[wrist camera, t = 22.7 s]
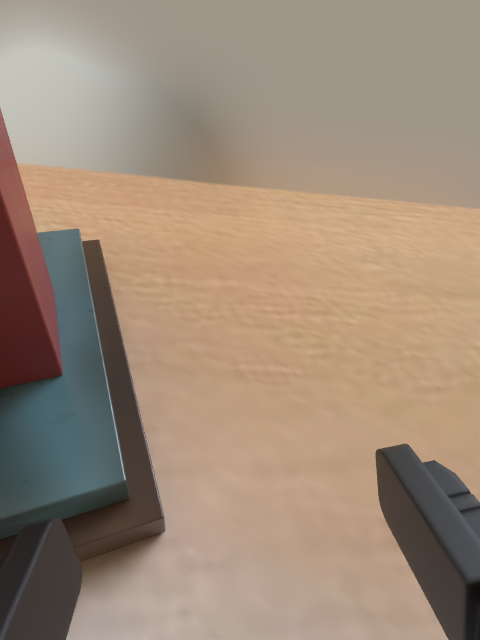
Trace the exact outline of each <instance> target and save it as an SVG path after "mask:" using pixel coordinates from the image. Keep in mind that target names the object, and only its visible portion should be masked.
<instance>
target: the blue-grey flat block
mask: <svg viewBox="0 0 480 640" xmlns="http://www.w3.org/2000/svg"><path fill="white" fill-rule="evenodd" d="M37 235H38V238H39V241H40V245H41V248H42V252H43V255H44V258H45V262H46V265H47V269H48V272H49V275H50V279H51V282H52V286H53V289H54V293H55V302H56V311H57V321H58V330H59V340H60V349H61V359H62V368H63V374H62V375H61V376H57V377H52V378H47V379H43V380H38V381H33V382H29V383H24V384H19V385H15V386H10V387H5V388H1V389H0V555H1V554H2V553H3V552H7V551H10V550H11V548H12V546H13V544H14V542H15V540H16V538H17V536H18V534H19V532H20V530H21V529H22V527H23V526H24V525H26V524H29V523H33V522H38V521H43V520H48V519H53V518H60V519H61V520H62V522H63V524H64V526H65V528H66V530H67V533H68V535H69V537H70V540H71V542H72V544H73V546H74V549H75V551H76V553H77V555H78V558H79V560H80V561H82V560H85V559H88V558H91V557H94V556H96V555H99V554H102V553H105V552H108V551H111V550H113V549H116V548H119V547H122V546H125V545H128V544H131V543H133V542H136V541H139V540H142V539H145V538H148V537H150V536H153V535H156V534H159V533H162V532H164V531H165V521H164V514H163V509H162V505H161V501H160V496H159V492H158V488H157V484H156V479H155V475H154V471H153V467H152V462H151V458H150V454H149V450H148V445H147V441H146V437H145V432H144V428H143V424H142V420H141V415H140V411H139V407H138V403H137V398H136V394H135V390H134V386H133V381H132V377H131V373H130V368H129V364H128V360H127V356H126V351H125V347H124V343H123V339H122V334H121V330H120V326H119V322H118V317H117V313H116V309H115V304H114V300H113V296H112V292H111V287H110V283H109V279H108V275H107V270H106V266H105V262H104V257H103V253H102V249H101V245H100V240H90V241H82V239H81V234H80V230H79V229H69V230H60V231H50V232H41V233H37Z"/></svg>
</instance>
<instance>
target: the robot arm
mask: <svg viewBox="0 0 480 640" xmlns="http://www.w3.org/2000/svg"><path fill="white" fill-rule="evenodd" d="M376 468H377V482H378V495H379V501H380V505H381V509H382V512H383V515H384V517H385V520H386V522H387V524H388V526H389V528H390V530H391V532H392V533H393V535H394V537H395V539H396V541H397V543H398V545H399V547H400V549H401V550H402V552H403V554H404V556H405V558H406V560H407V562H408V564H409V566H410V567H411V569H412V571H413V573H414V575H415V577H416V579H417V581H418V583H419V585H420V586H421V588H422V590H423V592H424V594H425V596H426V598H427V600H428V602H429V603H430V605H431V607H432V609H433V611H434V613H435V615H436V617H437V619H438V620H439V622H440V624H441V626H442V628H443V630H444V632H445V634H446V636H447V637H448V639H449V640H480V502H479V501H478V500H477V499H476V498H475V496H474V495H473V494H472V495H471V493H470V491H469V489H468V488H467V487H466V486H465V485H464V483H463V482H462V481H461V480H460V479H459V477H458V476H457V475H456V474H455V473H454V472H452V471H451V470H449V469H447V468H446V467H444V466H443V465H441V464H439V463H438V462H436V461H435V460H434V461H429V462H424V463H422V462H421V460H420V459H419V458H418V456H417V455H416V454H415V452H414V451H413V450H412V449H411V447H410V446H409V445H407V444H401V445H397V446H392V447H387V448H382V449H378V450H376ZM81 581H82V570H81V563H80V560H79V558H78V555H77V553H76V551H75V549H74V546H73V544H72V542H71V540H70V537H69V535H68V533H67V530H66V528H65V526H64V524H63V522H62V520H61V519H60V518H53V519H48V520H43V521H38V522H33V523H29V524H26V525H24V526H23V527H22V529H21V530H20V532H19V534H18V536H17V538H16V540H15V542H14V544H13V546H12V548H11V550H10V551H7V552H3V553H2V554H1V555H0V640H66V637H67V633H68V630H69V627H70V623H71V620H72V616H73V613H74V609H75V606H76V602H77V599H78V595H79V592H80V588H81Z"/></svg>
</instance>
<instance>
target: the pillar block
mask: <svg viewBox="0 0 480 640" xmlns="http://www.w3.org/2000/svg"><path fill="white" fill-rule="evenodd" d="M62 374H63V368H62V359H61V349H60V340H59V330H58V321H57V311H56V302H55V293H54V289H53V286H52V282H51V279H50V275H49V272H48V269H47V265H46V262H45V258H44V255H43V252H42V248H41V245H40V241H39V238H38V235H37V231H36V228H35V224H34V221H33V218H32V214H31V211H30V207H29V204H28V201H27V197H26V194H25V190H24V187H23V184H22V180H21V177H20V173H19V170H18V167H17V163H16V160H15V157H14V153H13V150H12V146H11V143H10V140H9V136H8V133H7V130H6V126H5V123H4V119H3V116H2V112H1V109H0V389H1V388H5V387H10V386H15V385H19V384H24V383H29V382H33V381H38V380H43V379H47V378H52V377H57V376H61V375H62Z"/></svg>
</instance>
